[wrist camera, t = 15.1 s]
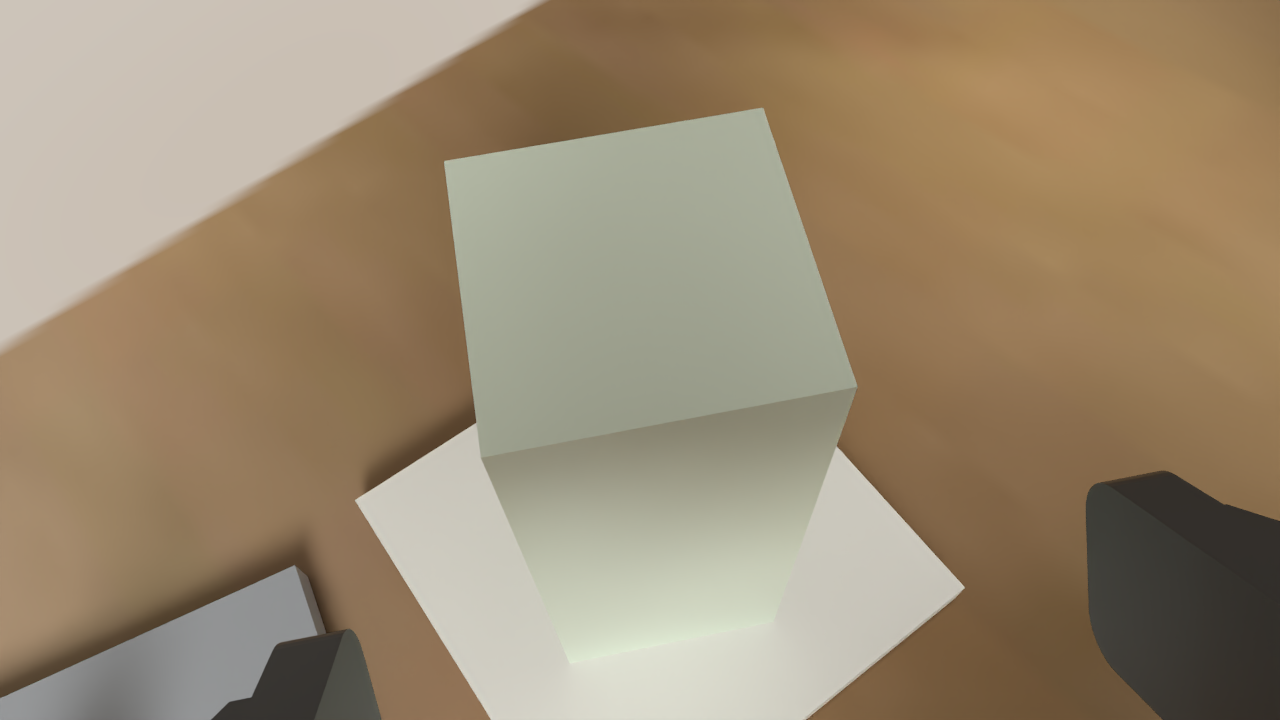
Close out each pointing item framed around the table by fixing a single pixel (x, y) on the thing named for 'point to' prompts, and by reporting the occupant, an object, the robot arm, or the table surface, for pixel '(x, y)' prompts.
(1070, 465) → the table surface
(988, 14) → the table surface
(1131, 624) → the robot arm
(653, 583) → the pale green pillar
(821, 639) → the mat
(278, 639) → the post stand
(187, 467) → the table surface
